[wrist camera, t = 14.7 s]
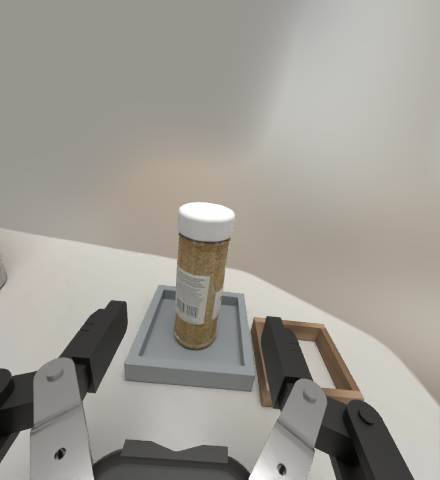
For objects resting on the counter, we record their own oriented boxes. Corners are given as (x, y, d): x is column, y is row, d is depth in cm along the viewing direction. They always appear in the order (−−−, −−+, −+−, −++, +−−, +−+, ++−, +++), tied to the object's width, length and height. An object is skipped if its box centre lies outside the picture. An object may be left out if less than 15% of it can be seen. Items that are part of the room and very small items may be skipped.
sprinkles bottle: (225, 336, 23) (247, 213, 18) (189, 360, 20) (202, 222, 15) (199, 310, 26) (211, 198, 21) (164, 328, 23) (167, 202, 18)
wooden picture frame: (262, 405, 18) (267, 390, 17) (250, 330, 25) (254, 317, 24) (355, 413, 18) (364, 399, 18) (318, 337, 26) (323, 324, 25)
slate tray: (125, 380, 19) (124, 364, 18) (158, 297, 28) (158, 284, 27) (250, 391, 19) (255, 375, 18) (241, 306, 29) (243, 293, 28)
